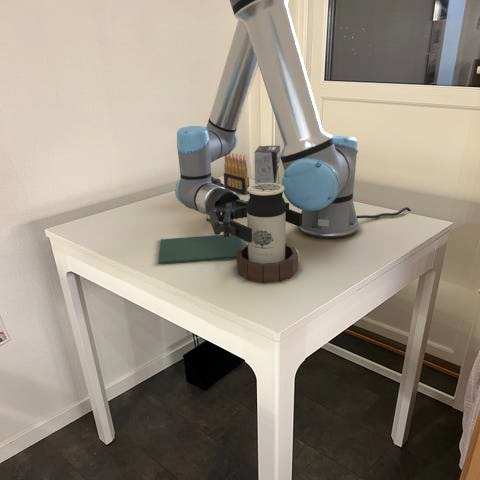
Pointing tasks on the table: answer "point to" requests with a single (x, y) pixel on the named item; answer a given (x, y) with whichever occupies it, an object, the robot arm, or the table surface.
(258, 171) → the coffee box
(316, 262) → the table surface
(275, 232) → the travel mug
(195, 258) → the mat
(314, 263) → the table surface
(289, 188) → the robot arm
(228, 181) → the ammunition clip
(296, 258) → the holder
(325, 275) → the table surface
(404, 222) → the table surface
